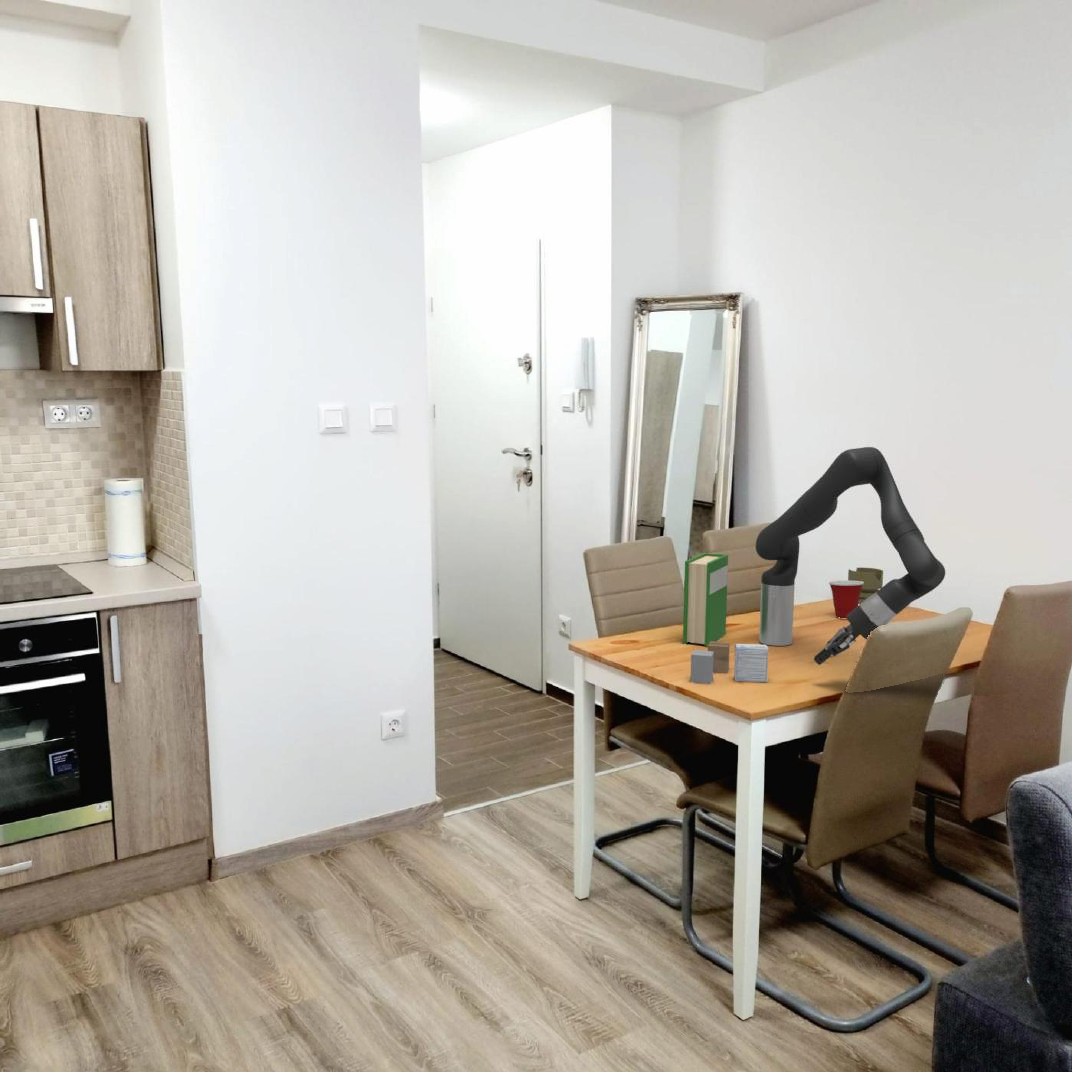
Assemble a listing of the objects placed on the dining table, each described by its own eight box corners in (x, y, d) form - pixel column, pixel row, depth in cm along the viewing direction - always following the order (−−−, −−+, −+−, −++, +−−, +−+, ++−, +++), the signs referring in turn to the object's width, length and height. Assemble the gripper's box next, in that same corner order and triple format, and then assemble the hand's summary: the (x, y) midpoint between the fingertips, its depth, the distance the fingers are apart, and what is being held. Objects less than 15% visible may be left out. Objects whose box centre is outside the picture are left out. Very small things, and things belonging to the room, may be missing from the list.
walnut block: (709, 667, 267) (710, 641, 266) (728, 668, 266) (729, 642, 265) (707, 672, 262) (708, 645, 261) (727, 673, 261) (728, 646, 260)
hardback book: (708, 647, 289) (710, 563, 286) (682, 644, 292) (685, 561, 289) (725, 634, 304) (728, 554, 301) (701, 632, 308) (703, 553, 305)
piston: (842, 569, 351) (858, 566, 358) (840, 604, 352) (857, 600, 360) (873, 574, 343) (889, 570, 350) (871, 609, 344) (887, 604, 352)
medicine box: (765, 678, 257) (767, 644, 256) (767, 683, 252) (768, 648, 251) (733, 677, 258) (734, 643, 257) (734, 681, 253) (736, 647, 252)
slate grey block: (692, 677, 257) (693, 650, 256) (712, 678, 256) (713, 651, 255) (690, 682, 252) (691, 654, 252) (710, 684, 251) (711, 656, 250)
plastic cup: (843, 613, 337) (845, 577, 336) (869, 619, 328) (871, 582, 327) (819, 616, 332) (821, 579, 330) (845, 622, 323) (847, 585, 321)
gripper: (859, 598, 252) (805, 643, 257) (861, 609, 239) (805, 656, 244) (881, 621, 251) (826, 666, 256) (884, 633, 239) (827, 680, 244)
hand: (816, 661), depth 250 cm, fingers closed
